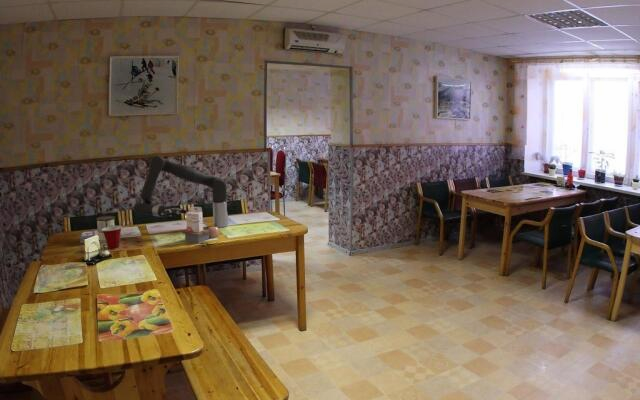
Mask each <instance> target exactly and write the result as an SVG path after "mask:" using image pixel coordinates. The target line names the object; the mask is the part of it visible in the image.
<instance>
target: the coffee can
mask: <svg viewBox="0 0 640 400" xmlns="http://www.w3.org/2000/svg"><path fill="white" fill-rule="evenodd" d="M96 226H97V227H96V228H97V237H98V236H99V239H100V241H99V242H101V243H106V239H105V236H104V233H103V231H102V229H103V228H106V227H111V226H116V216H114V215H101V216H98V217H96ZM99 239H98V240H99Z"/></svg>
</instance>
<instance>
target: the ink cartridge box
mask: <svg viewBox="0 0 640 400" xmlns="http://www.w3.org/2000/svg"><path fill="white" fill-rule="evenodd" d="M189 210H190V211H187V213H186V214H185V216H186V231H189V232H201V231H203V229H204V220H203V208H202V207H201V206H189Z"/></svg>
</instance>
